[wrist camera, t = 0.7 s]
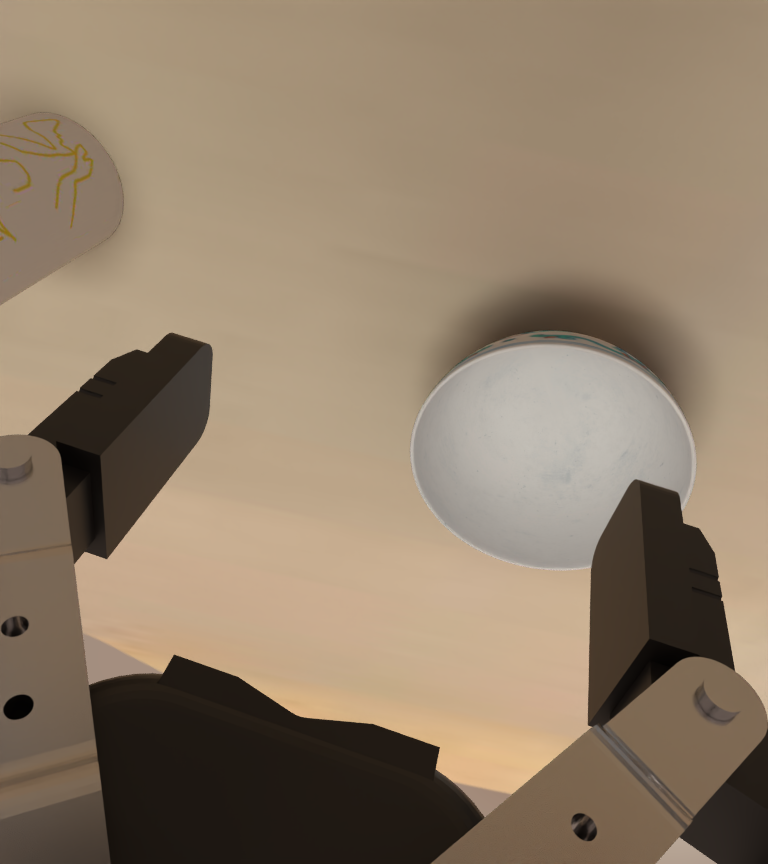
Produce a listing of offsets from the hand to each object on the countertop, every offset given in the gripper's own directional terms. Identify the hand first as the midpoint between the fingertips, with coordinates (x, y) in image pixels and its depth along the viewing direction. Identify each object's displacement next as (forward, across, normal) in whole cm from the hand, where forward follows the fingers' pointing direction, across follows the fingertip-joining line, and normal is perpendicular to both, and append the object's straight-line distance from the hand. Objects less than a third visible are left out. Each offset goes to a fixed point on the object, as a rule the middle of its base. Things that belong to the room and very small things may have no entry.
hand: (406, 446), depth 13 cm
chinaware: (+29, -6, +15) cm, 33 cm away
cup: (+29, +27, +11) cm, 41 cm away
